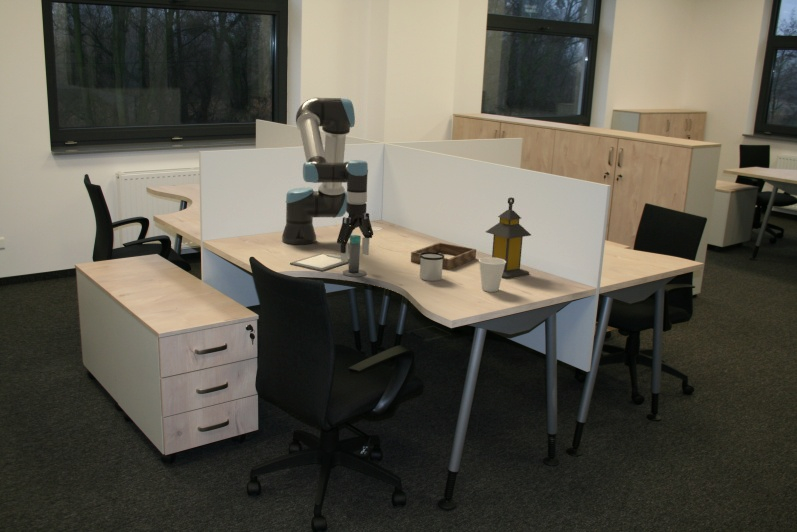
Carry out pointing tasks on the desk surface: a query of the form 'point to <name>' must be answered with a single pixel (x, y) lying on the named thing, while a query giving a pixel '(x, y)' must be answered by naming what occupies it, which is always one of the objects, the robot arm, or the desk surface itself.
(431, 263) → the mug
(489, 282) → the cup
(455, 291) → the desk surface
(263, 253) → the desk surface
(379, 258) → the desk surface
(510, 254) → the lantern
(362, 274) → the coaster
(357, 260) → the marker
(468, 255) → the wooden frame
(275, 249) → the desk surface
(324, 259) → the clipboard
